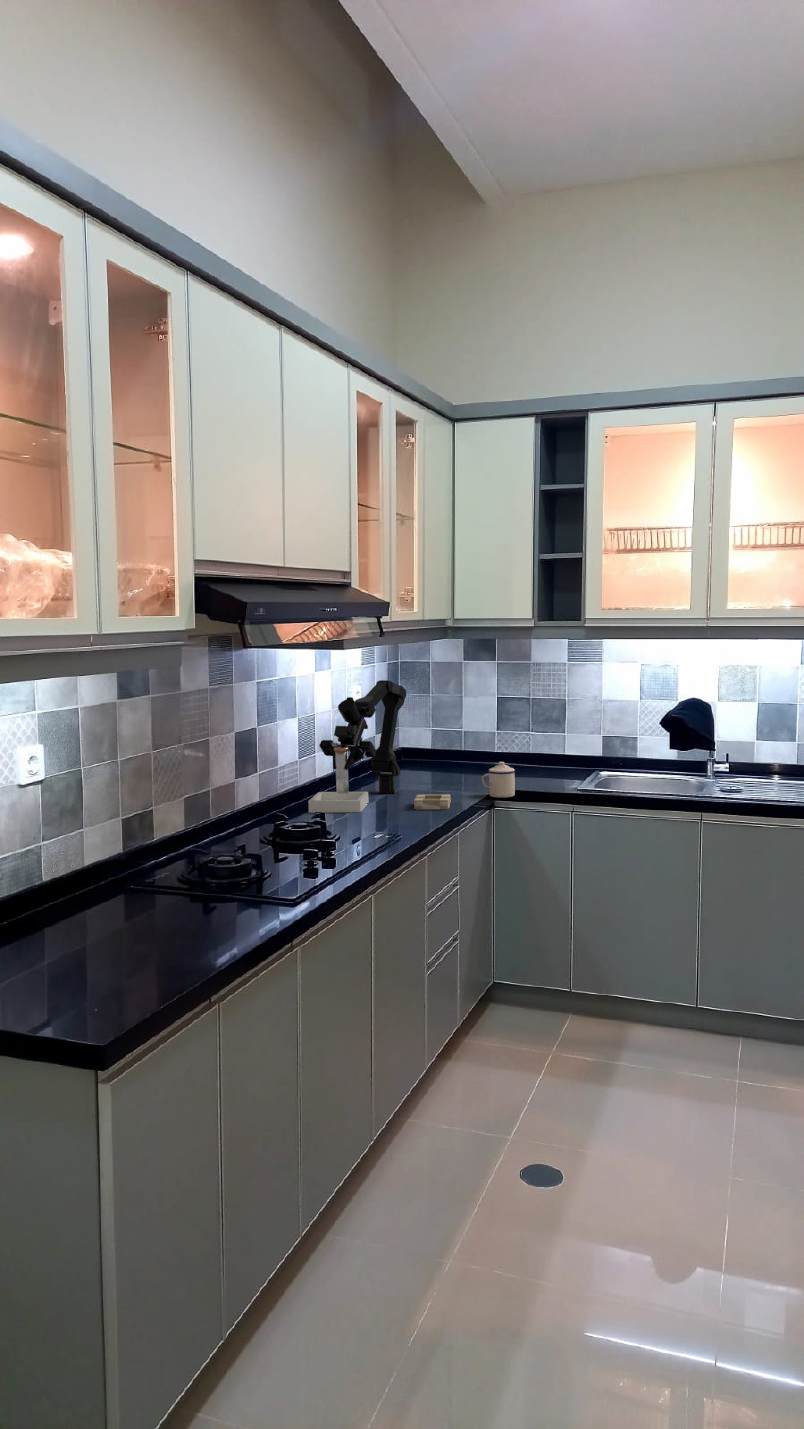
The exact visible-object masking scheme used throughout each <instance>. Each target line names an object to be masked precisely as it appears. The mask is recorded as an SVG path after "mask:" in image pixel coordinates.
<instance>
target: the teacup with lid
mask: <svg viewBox="0 0 804 1429" xmlns="http://www.w3.org/2000/svg"><path fill="white" fill-rule="evenodd" d="M515 772H516V769H514V768H513V767H510V766H509V765H507V764H505V762H504V761H499V762H498V764H497V765H495V766H494V767H491V768H489V769H488V773H485V774H484V775H483V776H482V777H481V782H482V784H483V786H484V787H485V788H487V789H489V796H490V797H491V798H492V797H493V798H498V799H499V798H500V799H501V798H512V797H514V796H515V794H516V789H515V788H516V787H515V786H516V784H515V781H516V780H515ZM486 777H488V779H489V785H488V784H487V783H486V780H485V779H486Z"/></svg>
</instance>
